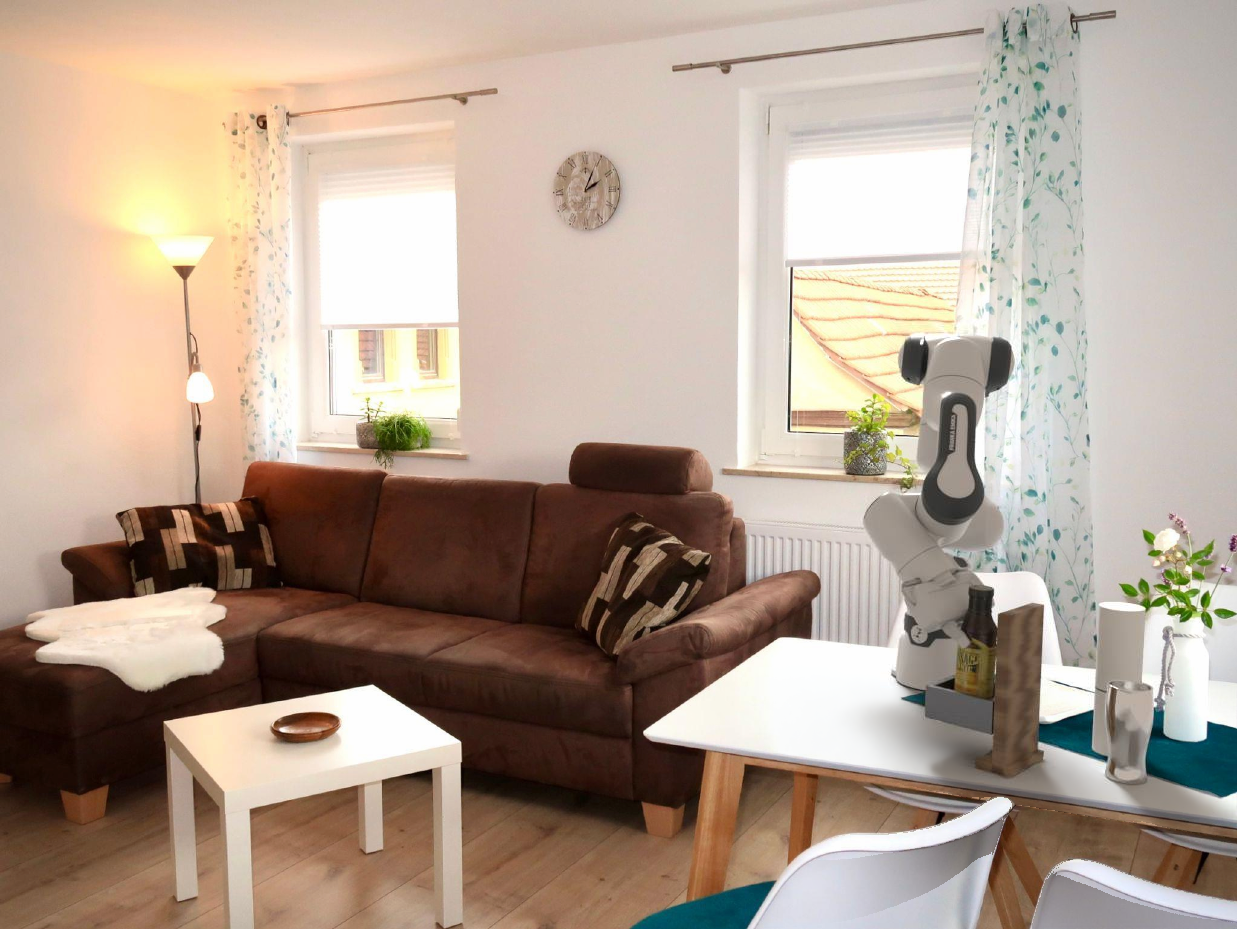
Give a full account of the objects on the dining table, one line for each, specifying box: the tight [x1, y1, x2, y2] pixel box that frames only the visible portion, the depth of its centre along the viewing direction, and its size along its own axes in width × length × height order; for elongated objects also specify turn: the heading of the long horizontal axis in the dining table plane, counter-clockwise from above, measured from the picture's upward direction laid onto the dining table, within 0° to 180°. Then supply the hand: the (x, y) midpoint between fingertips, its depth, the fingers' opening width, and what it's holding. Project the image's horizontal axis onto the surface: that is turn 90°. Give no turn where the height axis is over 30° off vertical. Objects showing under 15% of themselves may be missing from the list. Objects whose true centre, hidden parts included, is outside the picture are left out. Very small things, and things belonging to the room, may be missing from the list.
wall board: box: [973, 602, 1045, 779], centre depth 175 cm, size 12×6×26 cm, turn 134°
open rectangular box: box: [924, 674, 995, 736], centre depth 180 cm, size 11×12×6 cm
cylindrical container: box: [1091, 601, 1147, 757], centre depth 182 cm, size 7×7×25 cm
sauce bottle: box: [955, 584, 997, 699], centre depth 180 cm, size 6×6×20 cm
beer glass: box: [1104, 680, 1155, 786], centre depth 170 cm, size 7×7×15 cm
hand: (980, 641), depth 179 cm, fingers open, 6 cm apart
